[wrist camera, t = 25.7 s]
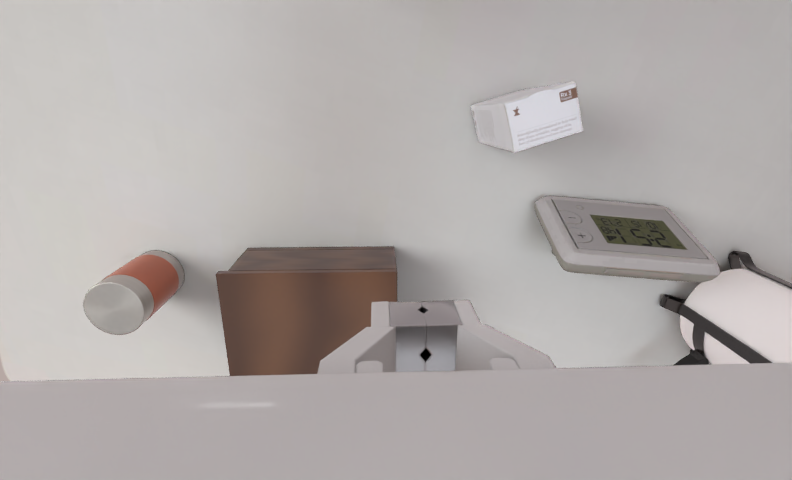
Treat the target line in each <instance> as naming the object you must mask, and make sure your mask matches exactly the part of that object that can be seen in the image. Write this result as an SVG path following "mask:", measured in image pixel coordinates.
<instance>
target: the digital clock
mask: <svg viewBox="0 0 792 480" xmlns="http://www.w3.org/2000/svg"><path fill="white" fill-rule="evenodd" d="M535 212H536V215H537V217H538V219H539V222H540V224H541V226H542V228H543V230H544V232H545V234H546V237H547V239H548V241H549V243H550V245H551V247H552V254H553V255H555V256H556V258H557V260H558V262H559V264H560V265H561V267H562V268H563V269H564V270H566V271H568V272H574V273H584V274H595V275H608V276H621V277H634V278H647V279H660V280H672V281H687V282H705V281H710V280H713V279H714V278H716V277H717V276H719V274H720V269H719V266H718V263H717V261H716V260H715V258H714V257H713V256H712V255H711V254H710V252H709V251H708V250H707V249H706V248H705V247H704V246H703V245H702V244H701V243H700V241H699V240H698V239H697V238H696V237H695V236H694V235H693V234H692V233H691V232H690V230H689V229H688V228H687V227H686V226H685V225H684V224H683V223H682V222H681V221H680V219H679V218H678V217H677V216H676V215H675V214H674V213H673V212H672V211H671V210H670V209H668V208H667V207H663V206H656V205H647V204H636V203H625V202H614V201H603V200H592V199H581V198H570V197H558V196H545V197H543V198H541V199H539V200H537V201H536V202H535Z"/></svg>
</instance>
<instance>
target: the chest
mask: <svg viewBox="0 0 792 480" xmlns="http://www.w3.org/2000/svg"><path fill="white" fill-rule="evenodd" d="M373 269H397V266H396V258H395V250H394V247H299V248H248V249H247V250H246V251H245V252H244V253H243V254H242V255H241V256H240V258H239V259H238V260H237V261H236V262H235V263H234V264H233V266H232V267H231V268H230V269H229V270H228V271H284V270H373Z"/></svg>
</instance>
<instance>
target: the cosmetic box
mask: <svg viewBox="0 0 792 480" xmlns="http://www.w3.org/2000/svg"><path fill="white" fill-rule="evenodd" d="M471 111H472V115H473V120H474V124H475V129H476V133H477V137H478V141H479V142H480V143H483V144H486V145H490V146H493V147H497V148H500V149H504V150H508V151H511V152H514V153H517V152H520V151H523V150H526V149H529V148H532V147H535V146H538V145H542V144H545V143H548V142H551V141H554V140H557V139H561V138H564V137H567V136H570V135H573V134H576V133H579V132H583V125H582V119H581V113H580V107H579V100H578V93H577V86H576V82H574V81H573V82H565V83H559V84H553V85H547V86H541V87H534V88H528V89H523V90H519V91H516V92H512V93H508V94H505V95H502V96H498V97H495V98H492V99H489V100H485V101H482V102H479V103H476V104H473V105H471Z"/></svg>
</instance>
